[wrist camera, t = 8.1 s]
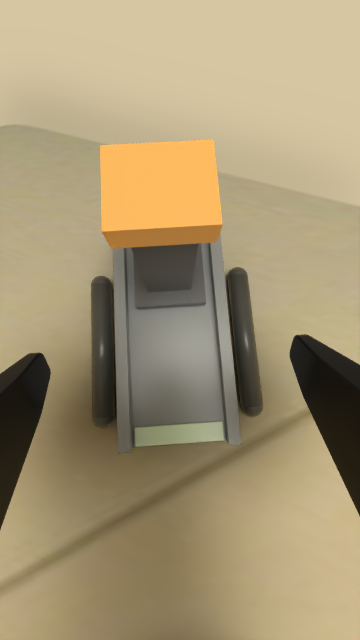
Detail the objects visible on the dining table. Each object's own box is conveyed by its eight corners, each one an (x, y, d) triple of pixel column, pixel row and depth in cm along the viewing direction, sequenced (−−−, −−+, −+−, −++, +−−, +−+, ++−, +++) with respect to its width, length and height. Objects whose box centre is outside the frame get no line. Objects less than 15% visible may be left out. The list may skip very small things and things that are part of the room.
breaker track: (262, 430, 20) (276, 441, 17) (96, 442, 20) (82, 456, 17) (239, 236, 23) (248, 216, 20) (94, 244, 22) (81, 226, 19)
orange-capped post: (205, 304, 19) (232, 241, 9) (137, 309, 19) (93, 250, 9) (199, 241, 20) (219, 123, 10) (134, 245, 20) (92, 130, 10)
